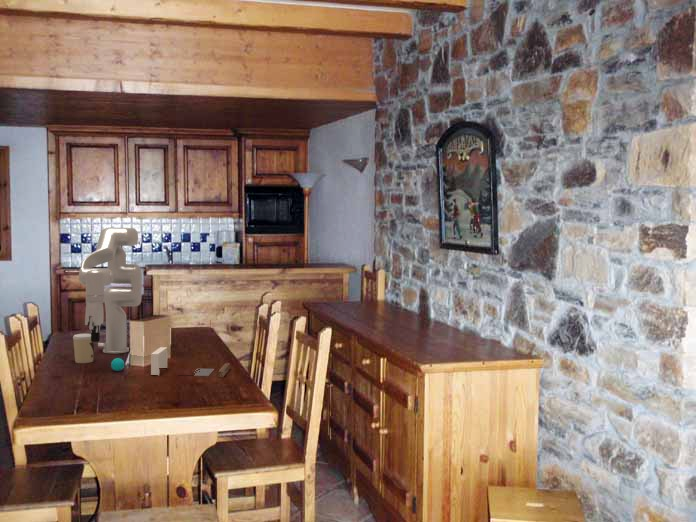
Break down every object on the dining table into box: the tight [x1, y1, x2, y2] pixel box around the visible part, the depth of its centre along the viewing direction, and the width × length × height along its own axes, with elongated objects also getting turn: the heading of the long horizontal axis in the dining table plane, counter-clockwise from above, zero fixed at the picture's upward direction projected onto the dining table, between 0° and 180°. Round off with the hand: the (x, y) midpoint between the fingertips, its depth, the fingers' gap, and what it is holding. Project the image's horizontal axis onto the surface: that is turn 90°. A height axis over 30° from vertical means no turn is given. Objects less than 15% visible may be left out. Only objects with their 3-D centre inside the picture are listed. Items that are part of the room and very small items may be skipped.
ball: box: [110, 357, 125, 372], centre depth 314 cm, size 6×6×6 cm
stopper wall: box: [217, 362, 231, 378], centre depth 314 cm, size 2×16×2 cm, turn 179°
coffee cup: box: [72, 333, 95, 364], centre depth 331 cm, size 9×9×12 cm
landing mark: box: [193, 368, 215, 377], centre depth 314 cm, size 13×13×1 cm
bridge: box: [150, 346, 168, 376], centre depth 314 cm, size 3×14×9 cm, turn 179°
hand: (95, 341), depth 313 cm, fingers closed
